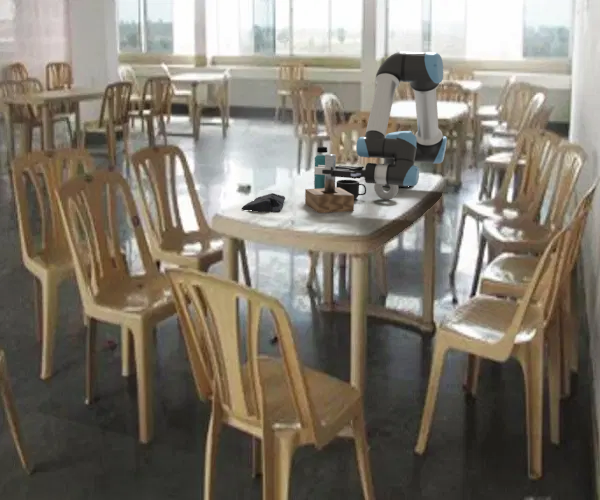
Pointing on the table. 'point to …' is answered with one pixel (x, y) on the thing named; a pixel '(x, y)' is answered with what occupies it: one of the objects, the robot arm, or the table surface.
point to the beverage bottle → (319, 160)
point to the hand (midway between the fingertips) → (316, 169)
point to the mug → (350, 187)
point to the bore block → (329, 200)
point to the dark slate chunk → (266, 203)
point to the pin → (330, 181)
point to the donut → (384, 194)
